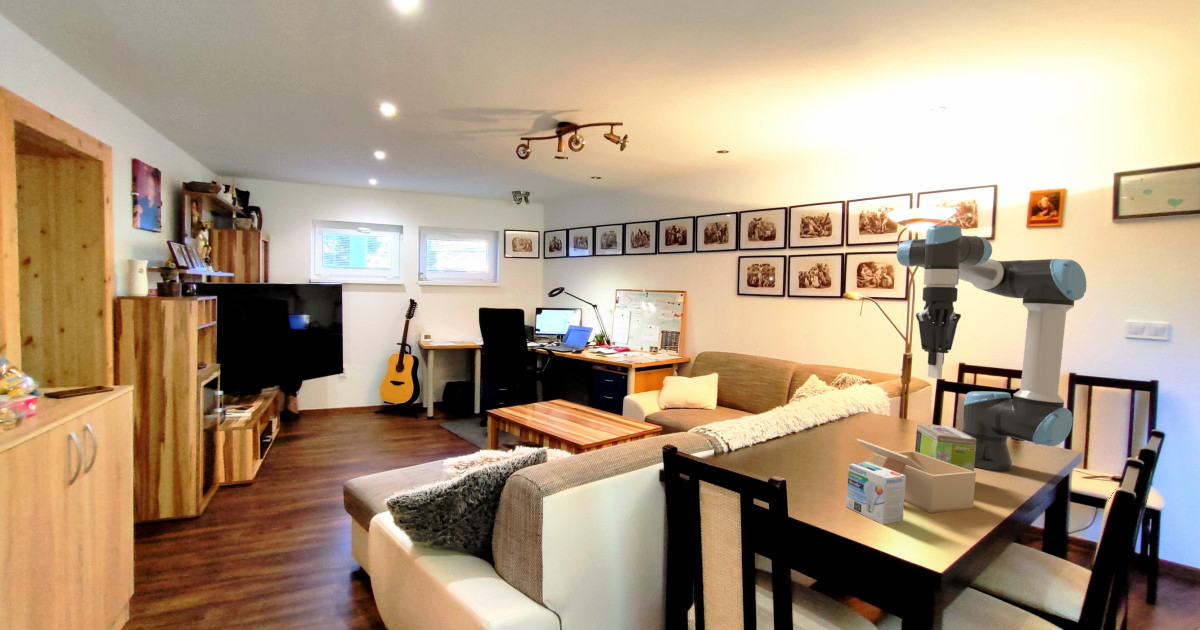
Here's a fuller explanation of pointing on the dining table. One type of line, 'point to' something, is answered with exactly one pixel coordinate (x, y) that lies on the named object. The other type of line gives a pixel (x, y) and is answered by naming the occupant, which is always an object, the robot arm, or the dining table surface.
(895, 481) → the light bulb box
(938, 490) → the carton
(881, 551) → the dining table surface
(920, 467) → the flap
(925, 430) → the tea box
